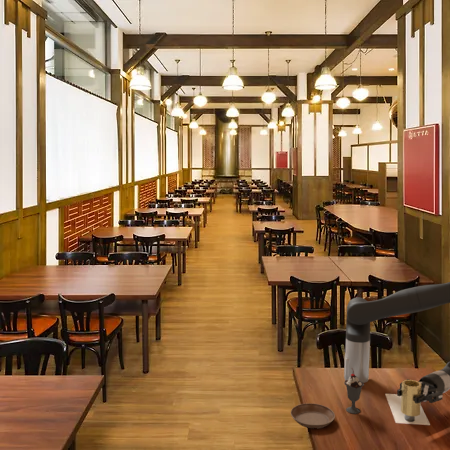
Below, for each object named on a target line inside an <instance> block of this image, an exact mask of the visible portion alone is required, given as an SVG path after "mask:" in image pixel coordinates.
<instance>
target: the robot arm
mask: <svg viewBox="0 0 450 450" xmlns="http://www.w3.org/2000/svg"><path fill="white" fill-rule="evenodd" d="M447 304H450V281H449V282H448V281H447V282H446V283H439V284H437V283H436V284H425V285H418V286H414V287H409V288H405V289H401V290H398V291H395V292H394V293H392V294H389V295H388V296H386V297H384V298H380V299H377V300H376V299H375V300H370V301H368V300H367V299H365V298H363V297H360V296H357V297H354V298H352V299H350V300H349V302H348V304H347V305H346V320H345V321H346V324H345V354H344V364H343V365H344V368H343V369H344V371H343V378H344V381H345V380H349V378H350V377H351V374H353V371H354V374H355V376H356V377H357V378H358V380H359V381H361V382H362V383H363V384H364V383H367V382H368V381H369V378H370V377H369V376H370V375H369V374H370V372H369V371H370V348H371V347H370V345H371V323H372V322H375V321H378V320H382V319H386V318H389V317H396V316H403V315H408V314H413V313H418V312H423V311H427V310H431V309H435V308H438V307H440V306H443V305H444V306H445V305H447ZM352 369H353V370H352ZM405 380H411V379H410V378H407V379H405ZM417 381H418V380H417ZM418 382H420V383H421V394H420V395H418V396H416V397H415V403H416V404H418V403H421V404H422V403H423V402H428V403H429V404H433V403H437V402H440V401H442V400H443V396H444V394H445V393H447V392H448V391H449V390H450V361H448V362H447V363H446V364H445V365H444V367H443V368H442V369H439V370H437V371H433V372H430V373H427V374H426V375H423V376H422V377H421V378H419V381H418ZM396 394H397V396H401V394H402V382H400V383H399V388H398V389H397V391H396Z"/></svg>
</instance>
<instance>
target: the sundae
mask: <svg viewBox="0 0 450 450" xmlns="http://www.w3.org/2000/svg"><path fill="white" fill-rule="evenodd" d="M352 370H353V369H352ZM343 384H344V386H345V387H346V395H347V399H349V401H350V402H351V406H348V407H346V409H345V410H346V412H347V413H348V414H352V415H357V414H359V413H361V410H360V408H359V407H356V403H357V402H358V401H359V400H360V397H361V394H362V393H361V391H362V388H363V387H364V386H365V384H364V383H362V382H361V381H359V380H358V378H357V377H356V376H355V374H354V371H353V374H351V377H350V378H349V380H345V379H344V382H343Z"/></svg>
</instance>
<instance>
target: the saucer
mask: <svg viewBox="0 0 450 450" xmlns="http://www.w3.org/2000/svg"><path fill="white" fill-rule="evenodd" d="M290 415H291V417H292V418H293V420H294V421H295V422H296V423H298V424H299V425H300V426H302V427H305V428H308V429H314V428H317V429H323V428H325V427H328V426H329V425H330V424H332V422H333V421H334V420H335V417H336V415H335V412H334V411H333V410H332V409H331V408H329V407H328V406H325V405H322V404H320V403H311V402H309V403H301V404H297V405H295V406H294V407H292V408H291V410H290Z"/></svg>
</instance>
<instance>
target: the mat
mask: <svg viewBox="0 0 450 450" xmlns="http://www.w3.org/2000/svg"><path fill="white" fill-rule="evenodd" d="M385 398H386V400H387V403H388V406H389V407H390V411H391V413H392V417H393V420H394V422H395V424H406V425H423V426H431V423H430V421H429V419H428V417H427V415H426V413H425V412H424V409H423V407H422V406H421V408H420V415H418V416H415V421H413V422H409V421H406V420H405V414H403V413H402V412H401V396H397V393H385Z"/></svg>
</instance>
